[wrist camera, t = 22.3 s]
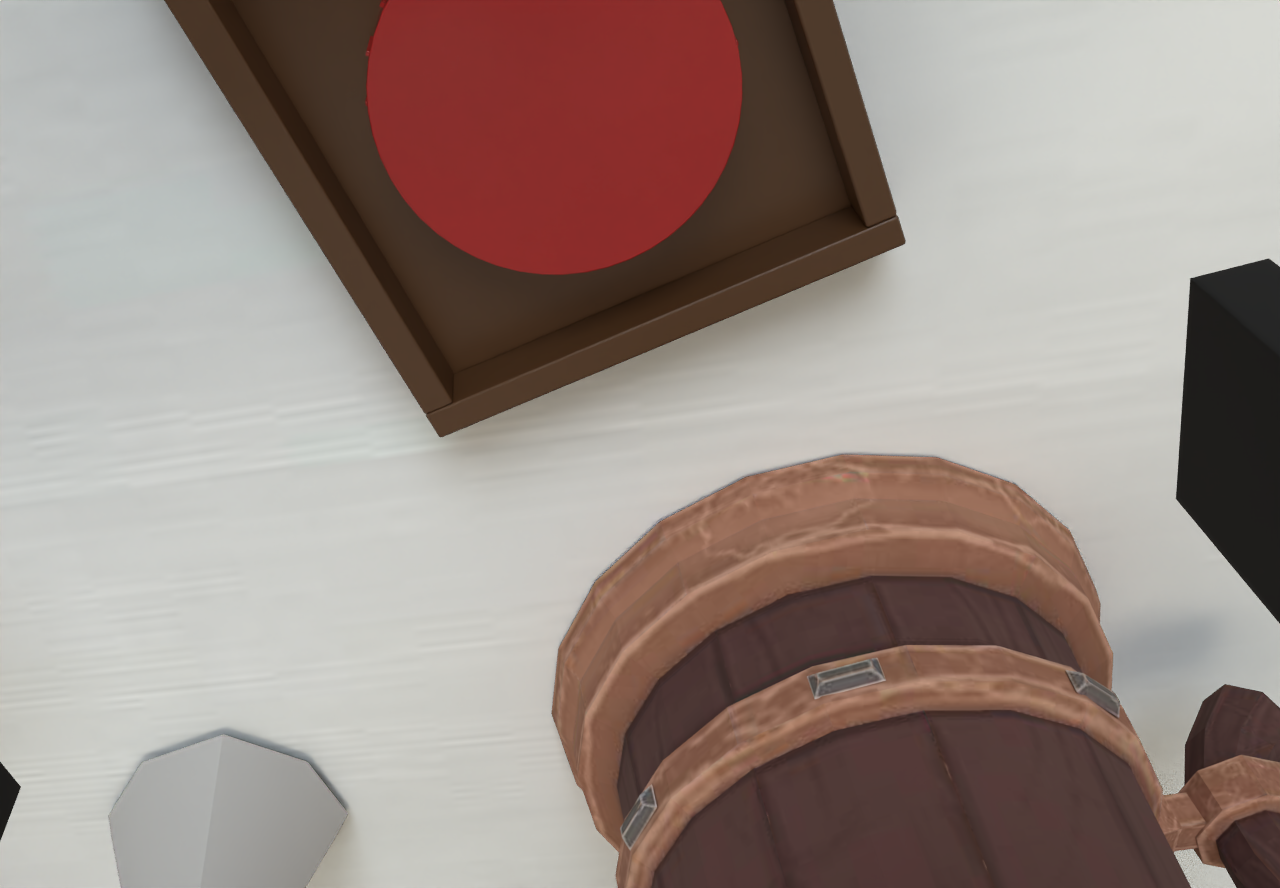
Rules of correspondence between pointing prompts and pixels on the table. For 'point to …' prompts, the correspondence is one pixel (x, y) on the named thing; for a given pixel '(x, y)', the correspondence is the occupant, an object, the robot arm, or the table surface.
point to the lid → (554, 122)
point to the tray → (554, 304)
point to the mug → (886, 700)
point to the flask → (223, 819)
